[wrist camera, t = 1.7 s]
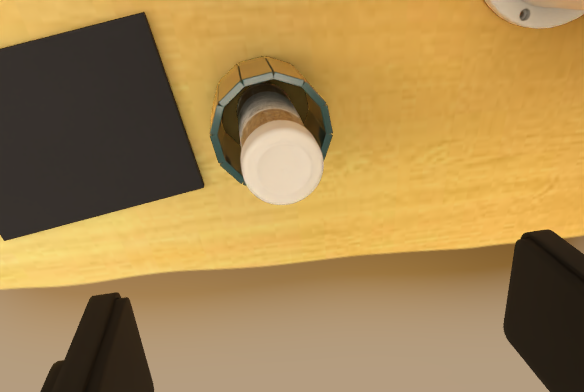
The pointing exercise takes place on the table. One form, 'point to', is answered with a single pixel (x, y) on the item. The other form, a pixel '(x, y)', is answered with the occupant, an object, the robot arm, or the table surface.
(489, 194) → the table surface
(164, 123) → the felt mat
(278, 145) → the sprinkles bottle
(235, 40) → the table surface
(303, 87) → the pen cup
